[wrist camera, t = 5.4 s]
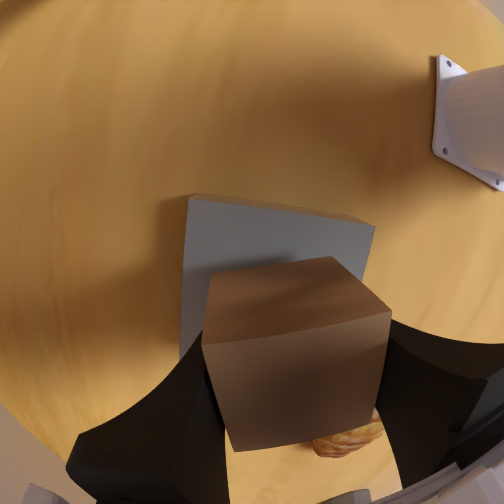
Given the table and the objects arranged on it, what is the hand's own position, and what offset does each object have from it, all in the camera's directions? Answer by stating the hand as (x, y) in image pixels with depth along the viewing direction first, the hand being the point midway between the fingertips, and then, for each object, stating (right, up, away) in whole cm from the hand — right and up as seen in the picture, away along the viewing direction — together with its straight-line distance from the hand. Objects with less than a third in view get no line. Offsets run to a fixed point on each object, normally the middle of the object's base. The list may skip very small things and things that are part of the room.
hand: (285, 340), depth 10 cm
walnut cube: (0, +1, +2) cm, 2 cm away
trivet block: (0, +2, +6) cm, 6 cm away
